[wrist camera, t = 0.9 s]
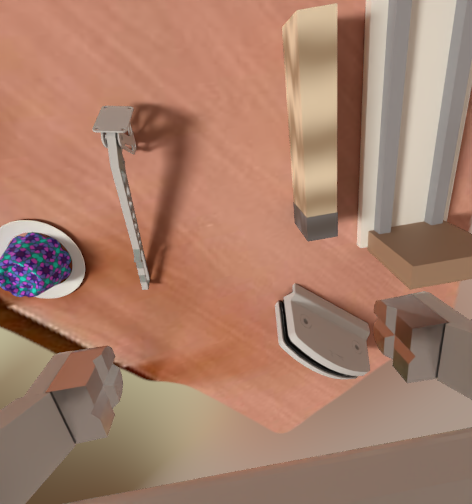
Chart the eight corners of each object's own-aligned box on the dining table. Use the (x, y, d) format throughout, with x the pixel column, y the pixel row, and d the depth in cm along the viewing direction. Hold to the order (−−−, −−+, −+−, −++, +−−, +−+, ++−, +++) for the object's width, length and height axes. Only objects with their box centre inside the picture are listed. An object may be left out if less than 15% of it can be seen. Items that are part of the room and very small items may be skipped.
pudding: (104, 256, 41) (90, 276, 36) (58, 309, 44) (40, 333, 39) (20, 198, 36) (-8, 212, 32) (-24, 262, 40) (-56, 282, 35)
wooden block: (281, 27, 30) (296, 10, 25) (315, 21, 30) (338, 2, 25) (294, 223, 40) (307, 241, 35) (320, 218, 40) (337, 236, 35)
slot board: (367, -53, 28) (454, -141, 18) (491, -75, 28) (646, -175, 18) (356, 247, 43) (401, 291, 33) (437, 233, 43) (507, 272, 33)
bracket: (134, 105, 31) (116, 164, 25) (163, 236, 48) (156, 290, 42) (102, 104, 31) (77, 164, 25) (143, 236, 48) (133, 290, 42)
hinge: (369, 324, 50) (384, 383, 42) (348, 335, 53) (358, 392, 45) (292, 282, 45) (295, 341, 37) (273, 296, 48) (272, 354, 40)
